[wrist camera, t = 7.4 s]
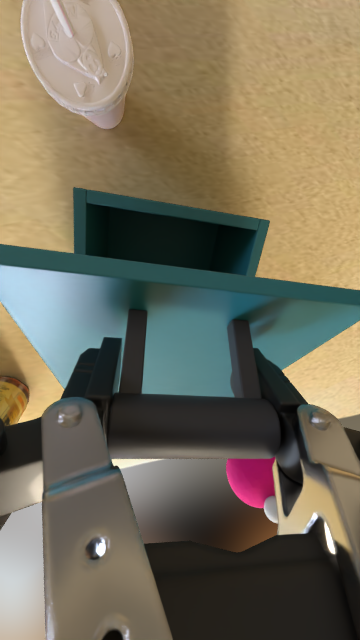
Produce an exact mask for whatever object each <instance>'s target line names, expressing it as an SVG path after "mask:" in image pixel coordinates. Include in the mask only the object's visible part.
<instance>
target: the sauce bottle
mask: <svg viewBox="0 0 360 640" xmlns="http://www.w3.org/2000/svg"><path fill="white" fill-rule="evenodd" d="M28 402H29V392H28V388H27V387H26V386H25V385H24V384H22V383H21V382H20V381H18V380H17V379H14V378H11V377H0V418H1V419H2V421H3V422H4V426H8V425H13V424H16V423H17V422H18V420H19V419H20V417H21V415H22V414H23V412H24V410H25V409H26V406H27V404H28Z"/></svg>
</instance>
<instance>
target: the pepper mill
mask: <svg viewBox="0 0 360 640" xmlns="http://www.w3.org/2000/svg"><path fill="white" fill-rule="evenodd" d="M275 459H276V458H275V456H274V457H273V458H270V459H228V460H227V464H226V471H227V476H228V480H229V483H230V486H231V487H232V489H233V491H234V492H235V494H236V495H237V496H238V497H239V498H240V499H241V500H242V501H243V502H245V503H246V504H248V505H250V506H253V507H257V508H264V511H265V513H266V515H267V517H268V518H269V519H270V520H271V521H272V522H275V523H278V516H277V507H276V498H275V488H274V479H273V470H272V467H273V463H274V461H275Z"/></svg>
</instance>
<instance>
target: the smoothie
mask: <svg viewBox="0 0 360 640" xmlns="http://www.w3.org/2000/svg"><path fill="white" fill-rule="evenodd" d="M21 35H22V41H23V45H24V49H25V53H26V56H27V58H28V61H29V63H30V65H31V67H32V69H33V71H34V73H35V75H36V76H37V78H38V79H39V81H40V82H41V84H42V85H43V87H44V88H45V89H46V91H47V92H48V94H49V95H51V96H52V97H53V98H54V99H55V100H56V101H57V102H58V103H59V104H60V105H62V106H63V107H65V108H66V109H68V110H70V111H71V112H74V113H77V114H81V115H83V116H84V117H86V118H87V119H88V120H90V121H91V122H92V123H94V124H95V125H96V126H98V127H100V128H103V129H111V128H114V127H116V126H117V125H118V124H119V123H120V121H121V120H122V117H123V114H124V106H125V97H126V93H127V91H128V88H129V85H130V82H131V79H132V75H133V65H134V56H133V45H132V40H131V37H130V32H129V28H128V24H127V21H126V18H125V16H124V13H123V11H122V9H121V7H120V5H119V3H118V1H117V0H23V4H22V10H21Z"/></svg>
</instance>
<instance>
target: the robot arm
mask: <svg viewBox="0 0 360 640" xmlns="http://www.w3.org/2000/svg"><path fill="white" fill-rule="evenodd" d="M253 350H254V356H255V362H256V368H257V373H258V379H259V385H260V391H261V396H262V399H266V400H268V401H269V402H270V403H271V404H272V405H273V406H274V408H275V410H276V412H277V415H278V418H279V421H280V427H281V444H280V448H279V451H278V453H277V454H276V455H275V458H276V459H275V461H274V463H273V467H272V470H273V479H274V488H275V498H276V507H277V516H278V532H277V535H276V536H274V537H272V538H269V539H267V540H265V541H264V542H261V543H259V544H257V545H255V546H253V547H251V548H249V549H247V550H245V551H242V552H238V553H236V552H231V551H227V550H223V549H219V548H215V547H211V546H208V545H204V544H200V543H196V542H192V541H180V542H164V543H149V544H143V540H142V538H141V534H140V531H139V528H138V524H137V521H136V518H135V514H134V511H133V508H132V505H131V502H130V498H129V495H128V492H127V489H126V485H125V482H124V479H123V476H122V473H121V471H120V469H119V467H118V466H113V464H112V461H111V457H110V454H109V450H108V447H107V443H106V439H107V429H108V421H109V414H110V407H111V402H112V397H113V395H114V393H116V392H118V387H119V380H120V370H121V354H122V338H115V337H104V338H103V341H102V344H101V347H100V349H99V348H88V349H87V350H86V351H84V352H83V353H82V354H81V355H80V357H79V359H78V361H77V364H76V365H75V368H74V370H73V372H72V374H71V377H70V379H69V381H68V383H67V386H66V388H65V390H64V392H63V395H62V397H61V399H60V400H59V401H57V402H55V403H53V404H52V405H50V406H49V407H48V408H47V409H46V410H45V411H44V413H43V415H42V417H39V418H37V419H34V420H31V421H27V422H22V423H18V424H13V425H8V426H4V422H3V421H2V419H1V418H0V530H1V528H2V527H3V525H4V524H5V522H6V521H7V519H8V518H9V516H10V514H11V513H12V512H14V511H17V510H20V509H23V508H26V507H29V506H31V505H34V504H37V503H40V502H42V521H43V558H44V593H45V626H46V627H45V629H46V640H360V432H359V431H356V430H352V429H348V428H345V427H343V426H342V424H341V423H340V422H339V420H338V419H337V418H336V417H335V416H334V415H332V414H331V413H330V412H328V411H326V410H325V409H323V408H320V407H318V406H315V405H310V404H308V403H307V402H306V401H305V399H304V398H303V397H302V396H301V394H300V393H299V392H298V391H297V389H296V388H295V387H294V386H293V384H292V383H290V381H289V380H288V378H287V377H286V376H284V373H283V372H282V371H281V370H280V368H279V367H278V366H277V365H275V364H274V363H272V362H271V361H270V360H268V359H266V358H265V357H264V355H263V354H262V353H261V351H260V350H259V349H258V348H253ZM230 385H231V389H232V392H233V394H234V396H235V391H234V383H233V375H232V373H231V377H230Z"/></svg>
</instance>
